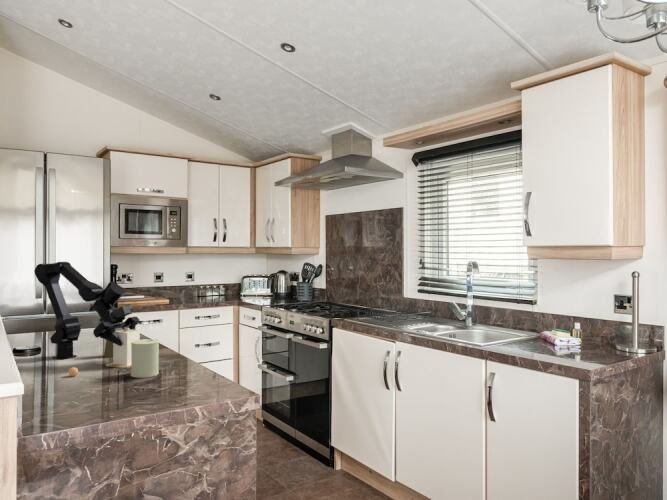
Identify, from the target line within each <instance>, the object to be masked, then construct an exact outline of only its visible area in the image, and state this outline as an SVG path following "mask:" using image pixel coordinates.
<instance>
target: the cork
mask: <svg viewBox="0 0 667 500" xmlns="http://www.w3.org/2000/svg"><path fill="white" fill-rule="evenodd" d="M115 331H119V329H115ZM103 358H107V359H109V358H110V359H112V358H113V342H111V341H108V340H106V339H105V345H104V353H103Z"/></svg>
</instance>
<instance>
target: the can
mask: <svg viewBox="0 0 667 500" xmlns="http://www.w3.org/2000/svg"><path fill="white" fill-rule="evenodd" d="M159 344H160V341H159V340H158V339H154V338H153V339H152V338H147V339H145V338H142V339H140V340H135V341H132V342H131V370H130V376H131V377H132V378H137V379H138V378H139V379H141V378H142V379H143V378H152V377H156V376H158V375H159V374H160V372H159V371H160V370H159V355H160V354H159V353H160V351H159V346H160V345H159Z"/></svg>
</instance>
